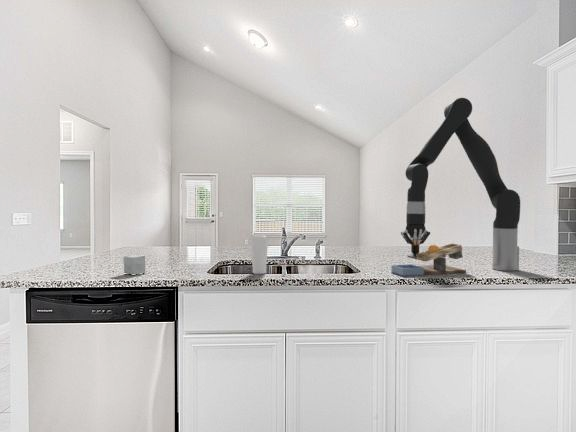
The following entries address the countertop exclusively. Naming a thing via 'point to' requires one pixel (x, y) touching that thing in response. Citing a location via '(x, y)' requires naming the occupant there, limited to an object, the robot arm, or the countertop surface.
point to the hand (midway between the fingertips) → (415, 254)
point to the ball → (433, 249)
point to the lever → (440, 253)
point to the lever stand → (440, 268)
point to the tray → (407, 270)
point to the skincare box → (134, 264)
